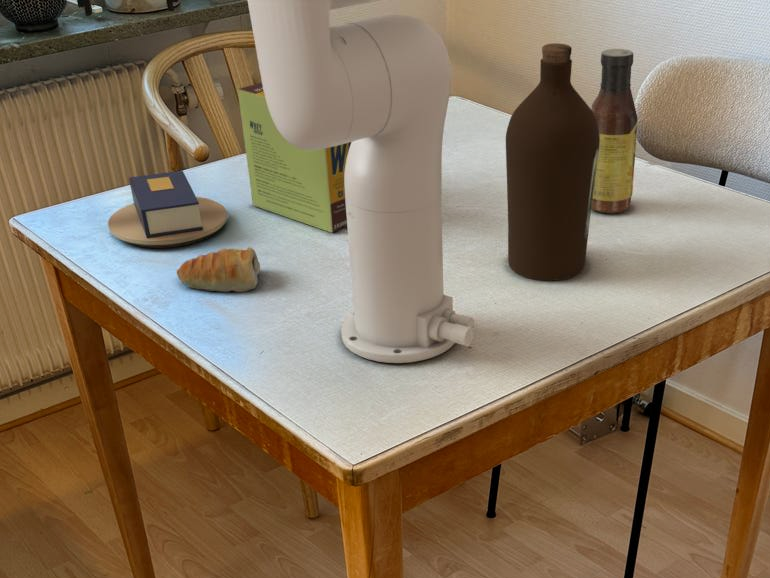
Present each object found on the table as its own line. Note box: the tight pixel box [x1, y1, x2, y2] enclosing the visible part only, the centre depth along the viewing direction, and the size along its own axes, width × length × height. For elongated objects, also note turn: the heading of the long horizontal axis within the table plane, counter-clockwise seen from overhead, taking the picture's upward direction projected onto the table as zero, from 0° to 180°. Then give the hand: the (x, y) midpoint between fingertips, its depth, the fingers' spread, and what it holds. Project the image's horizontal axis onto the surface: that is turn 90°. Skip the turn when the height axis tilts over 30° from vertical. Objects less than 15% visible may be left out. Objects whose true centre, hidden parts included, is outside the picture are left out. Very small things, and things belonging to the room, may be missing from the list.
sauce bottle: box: [590, 48, 639, 214], centre depth 132 cm, size 6×6×20 cm
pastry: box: [176, 246, 261, 293], centre depth 118 cm, size 9×7×4 cm
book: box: [107, 170, 228, 245], centre depth 129 cm, size 15×15×4 cm
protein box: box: [237, 82, 351, 233], centre depth 132 cm, size 10×15×16 cm
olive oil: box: [505, 42, 600, 281], centre depth 115 cm, size 11×11×25 cm
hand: (130, 11), depth 123 cm, fingers open, 9 cm apart
